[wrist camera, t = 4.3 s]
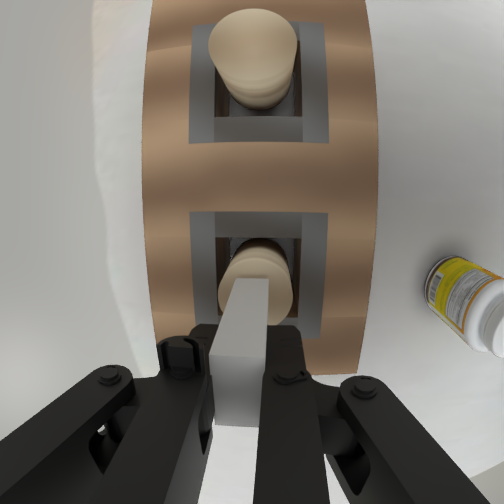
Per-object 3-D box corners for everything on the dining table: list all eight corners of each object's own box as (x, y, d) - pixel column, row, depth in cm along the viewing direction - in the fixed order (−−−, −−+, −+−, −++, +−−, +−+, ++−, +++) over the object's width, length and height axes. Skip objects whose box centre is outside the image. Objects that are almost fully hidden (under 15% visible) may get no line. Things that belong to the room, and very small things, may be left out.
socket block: (177, 32, 20) (152, -1, 14) (346, 30, 19) (364, -6, 14) (181, 330, 26) (160, 367, 21) (341, 334, 26) (356, 373, 20)
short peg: (232, 237, 21) (216, 260, 15) (288, 238, 21) (294, 261, 15) (233, 290, 22) (219, 329, 16) (286, 291, 22) (291, 331, 16)
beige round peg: (228, 56, 16) (209, 11, 11) (289, 55, 16) (295, 8, 10) (227, 110, 17) (206, 82, 11) (290, 110, 17) (298, 80, 11)
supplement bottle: (474, 292, 24) (538, 338, 14) (430, 322, 25) (486, 382, 15) (461, 242, 23) (536, 276, 13) (414, 273, 24) (479, 323, 14)
